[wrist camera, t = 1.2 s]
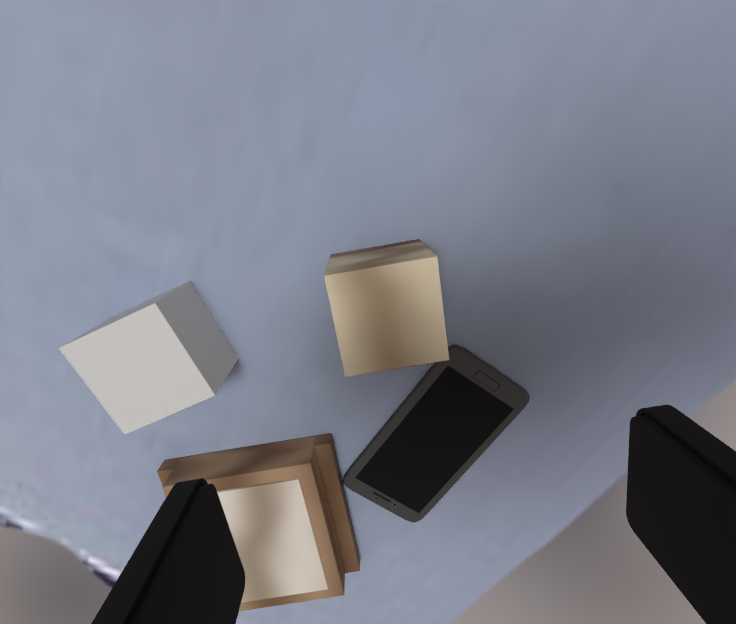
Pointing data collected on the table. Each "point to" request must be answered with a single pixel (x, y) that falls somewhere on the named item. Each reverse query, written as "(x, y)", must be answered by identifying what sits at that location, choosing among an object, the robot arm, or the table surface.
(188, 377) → the white cube
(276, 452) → the dock
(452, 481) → the cell phone
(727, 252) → the table surface
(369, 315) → the tan cube
